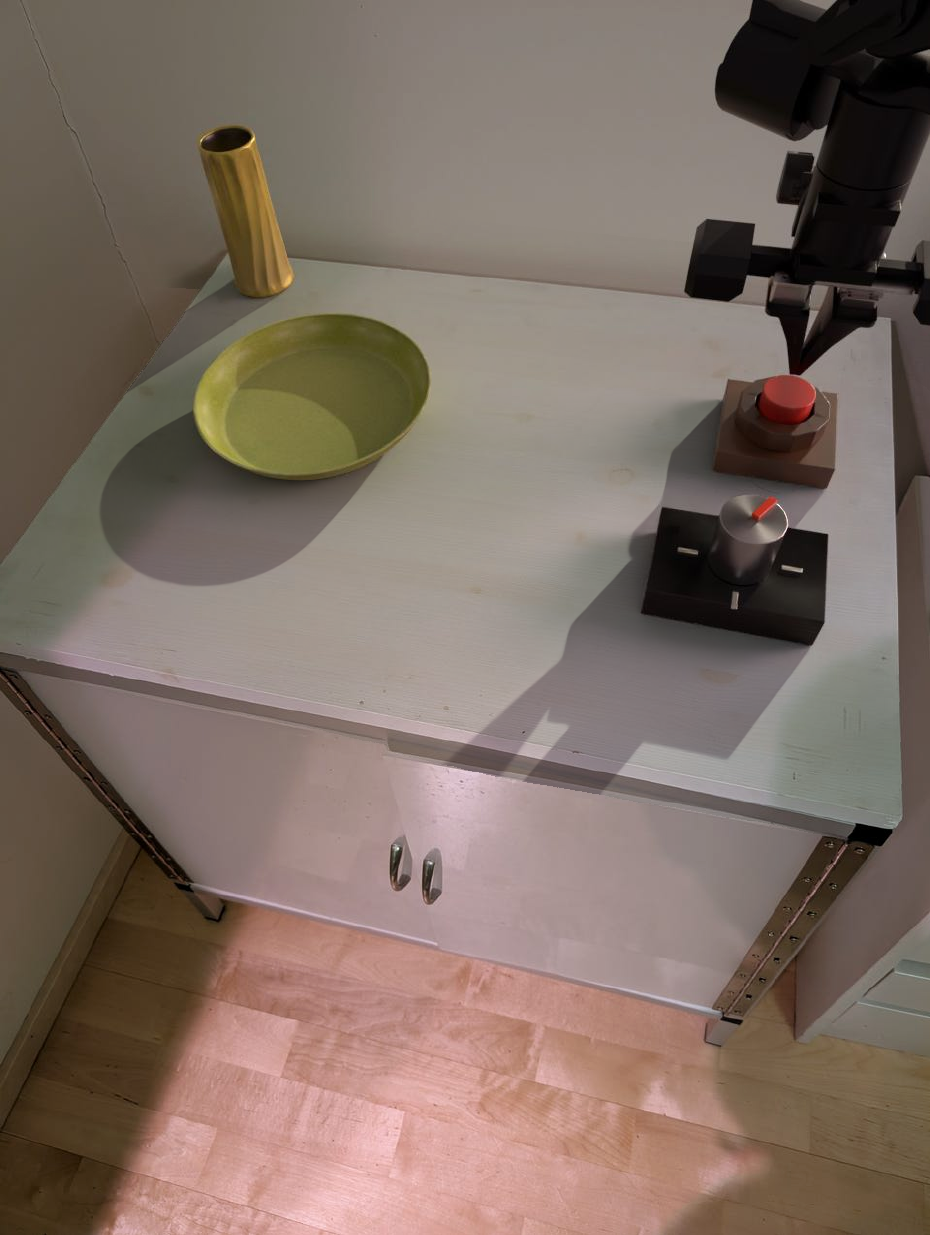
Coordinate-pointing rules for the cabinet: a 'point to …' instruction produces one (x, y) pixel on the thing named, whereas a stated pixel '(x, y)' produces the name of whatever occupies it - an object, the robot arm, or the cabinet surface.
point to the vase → (245, 210)
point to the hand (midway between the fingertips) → (794, 371)
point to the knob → (747, 539)
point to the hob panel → (765, 608)
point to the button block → (775, 439)
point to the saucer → (312, 395)
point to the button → (787, 399)
